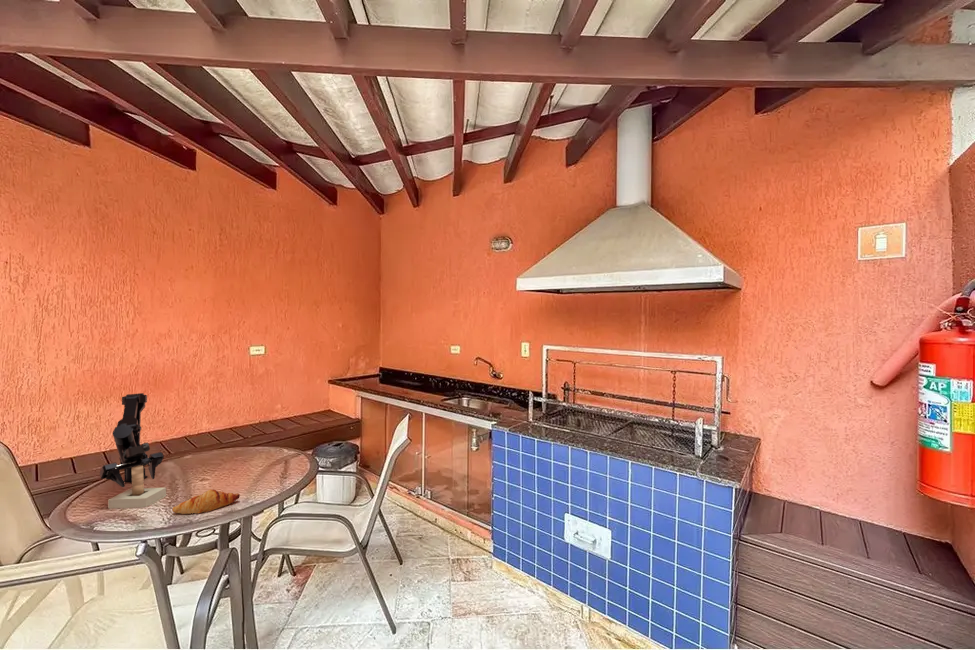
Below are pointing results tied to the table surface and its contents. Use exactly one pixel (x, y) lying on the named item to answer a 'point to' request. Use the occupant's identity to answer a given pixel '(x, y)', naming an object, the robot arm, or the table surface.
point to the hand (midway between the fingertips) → (139, 482)
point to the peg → (137, 480)
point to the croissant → (206, 502)
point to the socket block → (137, 498)
